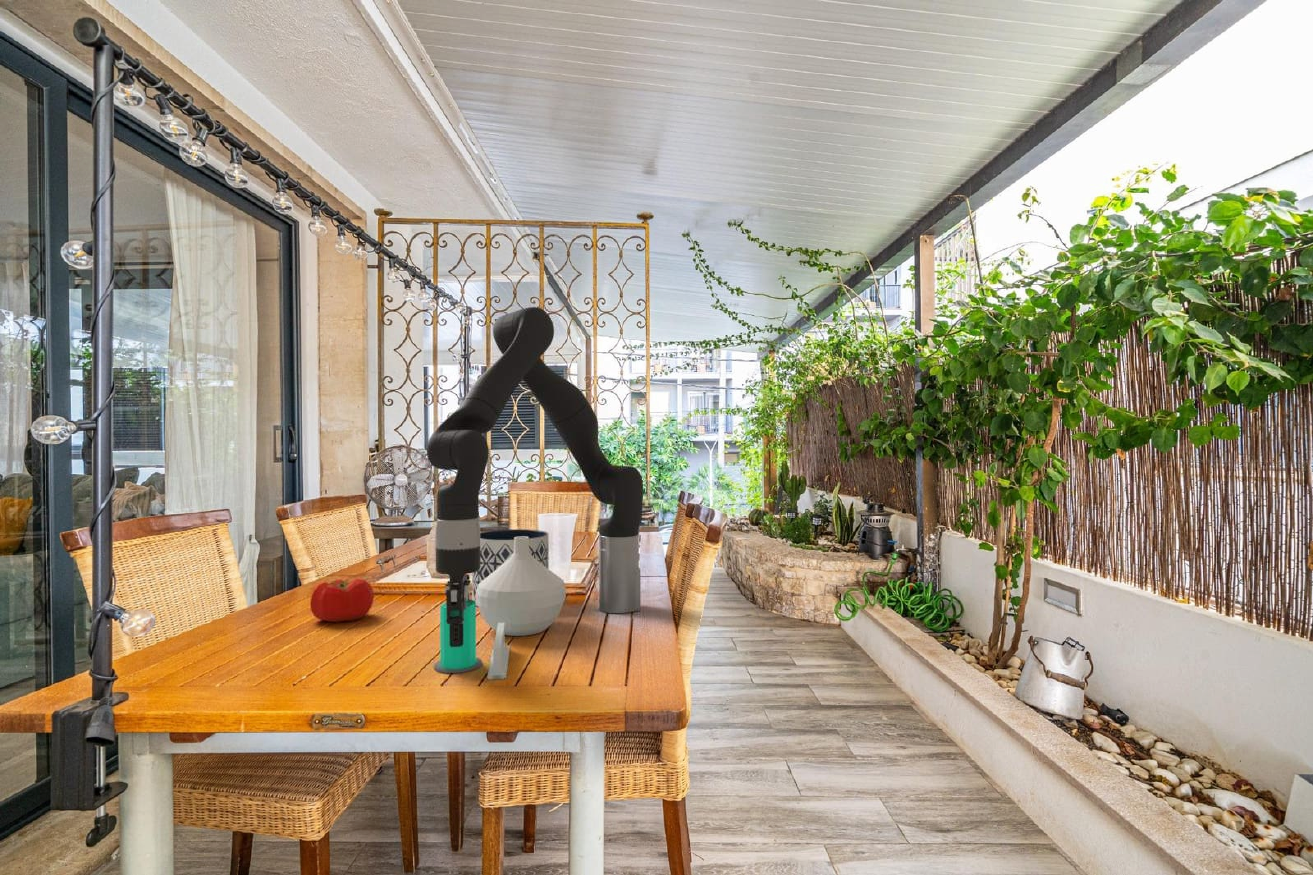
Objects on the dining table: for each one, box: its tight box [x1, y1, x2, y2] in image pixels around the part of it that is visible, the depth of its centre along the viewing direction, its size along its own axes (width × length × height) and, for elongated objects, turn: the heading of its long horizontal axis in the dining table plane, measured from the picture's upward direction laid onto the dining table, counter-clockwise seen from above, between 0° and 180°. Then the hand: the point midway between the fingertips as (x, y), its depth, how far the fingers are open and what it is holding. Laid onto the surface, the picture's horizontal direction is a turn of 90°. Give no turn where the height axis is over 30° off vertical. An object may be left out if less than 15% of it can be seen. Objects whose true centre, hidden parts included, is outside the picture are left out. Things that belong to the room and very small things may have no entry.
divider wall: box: [487, 623, 510, 680], centre depth 120 cm, size 3×16×5 cm, turn 10°
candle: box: [439, 599, 477, 669], centre depth 118 cm, size 6×6×12 cm
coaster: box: [433, 656, 483, 675], centre depth 118 cm, size 8×8×1 cm
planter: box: [471, 529, 550, 607], centre depth 165 cm, size 18×18×16 cm
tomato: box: [309, 578, 375, 623], centre depth 150 cm, size 13×12×8 cm
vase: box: [476, 536, 567, 637], centre depth 141 cm, size 18×18×19 cm
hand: (458, 640), depth 118 cm, fingers open, 5 cm apart
